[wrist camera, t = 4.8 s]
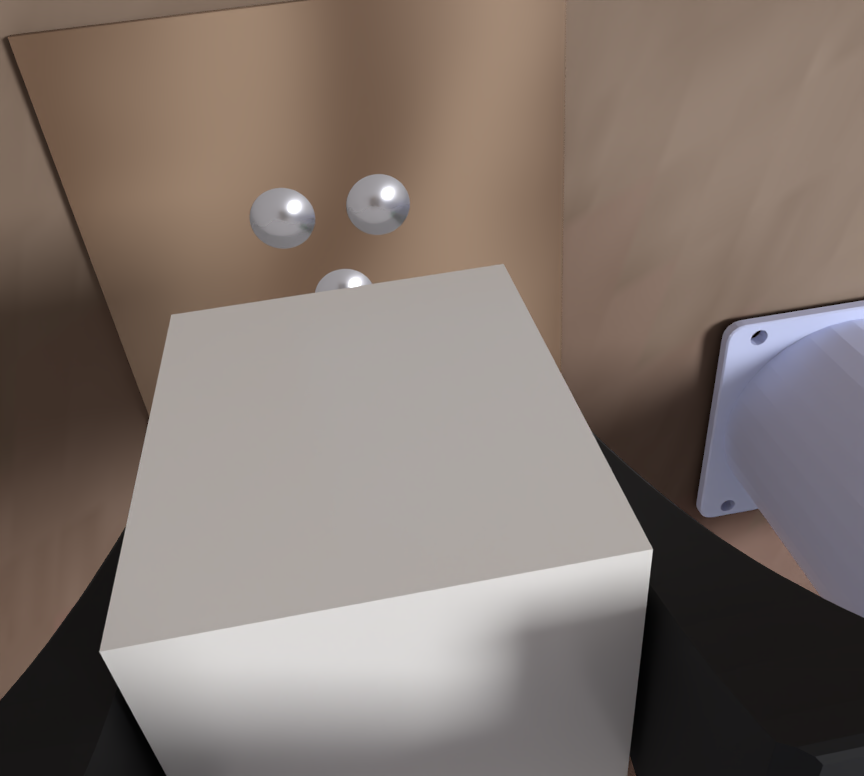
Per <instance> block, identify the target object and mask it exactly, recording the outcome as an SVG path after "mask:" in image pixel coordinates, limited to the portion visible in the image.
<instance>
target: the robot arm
mask: <svg viewBox="0 0 864 776" xmlns="http://www.w3.org/2000/svg"><path fill="white" fill-rule="evenodd" d="M760 330H761V331H760ZM757 331H760V333H759V334H758V335H757V336H756V337H754V338H751V337H752V335H753V334H754V333H755V332H757ZM591 432H592V431H591ZM592 434H593V436H594V437H595V439H596V441H597V443H598V445H599V447H600V449H601V451H602V453H603V455H604V457H605V459H606V460H607V462H608V464H609V466H610V468H611V470H612V472H613V474H614V476H615V478H616V480H617V481H618V483H619V485H620V487H621V489H622V491H623V493H624V495H625V497H626V499H627V501H628V502H629V504H630V506H631V508H632V510H633V512H634V514H635V516H636V518H637V520H638V522H639V523H640V525H641V527H642V529H643V531H644V533H645V535H646V537H647V539H648V541H649V543H650V544H651V546H652V548H653V553H652V562H651V571H650V579H649V588H648V597H647V606H646V615H645V623H644V632H643V641H642V650H641V658H640V667H639V676H638V685H637V694H636V702H635V711H634V720H633V729H632V737H631V746H630V757H631V760H632V763H633V766H634V770H635V773H636V776H864V300H862V301H856V302H850V303H844V304H838V305H831V306H825V307H819V308H813V309H807V310H800V311H794V312H788V313H782V314H776V315H770V316H763V317H757V318H751V319H745V320H739V321H736V322H734V323H732V324H731V325H729V326H728V327H727V329H726V330H725V331H724V333H723V336H722V341H721V347H720V354H719V360H718V367H717V373H716V380H715V386H714V393H713V399H712V406H711V412H710V419H709V425H708V431H707V438H706V444H705V451H704V457H703V464H702V470H701V477H700V483H699V490H698V496H697V502H696V505H697V509H698V510H699V512H700V513H701V514H702V516H704V517H716V516H722V515H727V514H733V513H738V512H744V511H749V510H755V509H759V510H760V511H761V513H762V514H763V516H764V517H765V518H766V520H767V521H768V523H769V524H770V525H771V527H772V528H773V530H774V531H775V533H776V534H777V535H778V537H779V538H780V540H781V541H782V542H783V544H784V545H785V547H786V548H787V549H788V551H789V552H790V554H791V555H792V556H793V558H794V559H795V561H796V562H797V564H798V565H799V566H800V568H801V569H802V571H803V572H804V573H805V575H806V576H807V578H808V579H809V580H810V582H811V583H812V585H813V586H814V587H815V589H816V590H817V592H818V593H819V595H820V596H821V597H820V596H818V595H816V594H814V593H812V592H811V591H809V590H807V589H805V588H803V587H801V586H799V585H798V584H796V583H794V582H792V581H790V580H788V579H786V578H784V577H783V576H781V575H779V574H777V573H775V572H774V571H772V570H770V569H769V568H767V567H765V566H763V565H762V564H760V563H758V562H757V561H755V560H754V559H752V558H750V557H749V556H747V555H746V554H744V553H743V552H741V551H739V550H738V549H736V548H735V547H733V546H732V545H730V544H728V543H727V542H725V541H724V540H722V539H721V538H720V537H718V536H717V535H715V534H714V533H712V532H711V531H710V530H708V529H707V528H705V527H704V526H703V525H701V524H700V523H699V522H697V521H696V520H695V519H693V518H692V517H691V516H689V515H688V514H687V513H685V512H684V511H683V510H681V509H680V508H679V507H677V506H676V505H675V504H674V503H672V502H671V501H670V500H669V499H667V498H666V497H665V496H664V495H662V494H661V493H660V492H659V491H658V490H656V489H655V488H654V487H653V486H652V485H650V484H649V483H648V482H647V481H646V480H645V479H643V478H642V477H641V476H640V475H639V474H637V473H636V472H635V471H634V470H633V469H632V468H631V467H629V466H628V465H627V464H626V463H625V462H624V461H623V460H622V459H621V458H619V457H618V456H617V455H616V454H615V453H614V452H613V451H612V450H611V449H610V448H609V447H607V446H606V445H605V444H604V443H603V442H602V441H601V440H600V439H599V438H598V437H597V436H596V435H595V434H594V433H593V432H592ZM725 501H726V502H725ZM125 529H126V527H125ZM125 529H124V530H123V532H122V533H121V535H120V537H119V538H118V540H117V542H116V543H115V545H114V547H113V548H112V550H111V551H110V553H109V555H108V556H107V558H106V559H105V561H104V562H103V564H102V565H101V567H100V568H99V570H98V572H97V573H96V575H95V576H94V578H93V579H92V581H91V582H90V584H89V585H88V587H87V588H86V590H85V591H84V593H83V594H82V596H81V597H80V599H79V600H78V602H77V603H76V604H75V606H74V607H73V608H72V610H71V611H70V613H69V614H68V615H67V617H66V618H65V620H64V621H63V622H62V624H61V625H60V626H59V628H58V629H57V631H56V632H55V633H54V635H53V636H52V638H51V639H50V640H49V642H48V643H47V644H46V646H45V647H44V648H43V649H42V651H41V652H40V653H39V654H38V656H37V657H36V658H35V660H34V661H33V662H32V663H31V665H30V666H29V667H28V668H27V670H26V671H25V672H24V673H23V674H22V676H21V677H20V678H19V679H18V680H17V682H16V683H15V684H14V685H13V686H12V687H11V689H10V690H9V691H8V692H7V693H6V694H5V696H4V697H3V698H2V699H1V700H0V776H166V774H165V772H164V770H163V768H162V766H161V765H160V763H159V761H158V759H157V757H156V755H155V754H154V752H153V750H152V748H151V746H150V744H149V743H148V741H147V739H146V737H145V735H144V733H143V731H142V730H141V728H140V726H139V724H138V722H137V720H136V719H135V717H134V715H133V713H132V711H131V709H130V707H129V706H128V704H127V702H126V700H125V698H124V696H123V695H122V693H121V691H120V689H119V687H118V685H117V683H116V682H115V680H114V678H113V676H112V674H111V672H110V671H109V669H108V667H107V665H106V663H105V661H104V660H103V658H102V656H101V654H100V652H99V651H100V646H101V642H102V637H103V632H104V628H105V623H106V618H107V614H108V609H109V604H110V600H111V595H112V590H113V585H114V581H115V576H116V571H117V567H118V562H119V557H120V553H121V548H122V543H123V539H124V534H125Z"/></svg>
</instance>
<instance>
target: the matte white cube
mask: <svg viewBox="0 0 864 776" xmlns="http://www.w3.org/2000/svg"><path fill="white" fill-rule="evenodd" d="M652 553H653V548H652V546H651V544H650V543H649V541H648V539H647V537H646V535H645V533H644V531H643V529H642V527H641V525H640V523H639V522H638V520H637V518H636V516H635V514H634V512H633V510H632V508H631V506H630V504H629V502H628V501H627V499H626V497H625V495H624V493H623V491H622V489H621V487H620V485H619V483H618V481H617V480H616V478H615V476H614V474H613V472H612V470H611V468H610V466H609V464H608V462H607V460H606V459H605V457H604V455H603V453H602V451H601V449H600V447H599V445H598V443H597V441H596V439H595V437H594V436H593V434H592V432H591V430H590V428H589V426H588V424H587V422H586V420H585V418H584V416H583V415H582V413H581V411H580V409H579V407H578V405H577V403H576V401H575V399H574V397H573V395H572V394H571V392H570V390H569V388H568V386H567V384H566V382H565V380H564V378H563V376H562V374H561V373H560V371H559V369H558V367H557V365H556V363H555V361H554V359H553V357H552V355H551V353H550V352H549V350H548V348H547V346H546V344H545V342H544V340H543V338H542V336H541V334H540V332H539V331H538V329H537V327H536V325H535V323H534V321H533V319H532V317H531V315H530V313H529V311H528V310H527V308H526V306H525V304H524V302H523V300H522V298H521V296H520V294H519V292H518V290H517V289H516V287H515V285H514V283H513V281H512V279H511V277H510V275H509V273H508V271H507V269H506V267H505V266H504V264H499V265H493V266H486V267H480V268H473V269H467V270H460V271H454V272H447V273H441V274H434V275H428V276H421V277H415V278H408V279H401V280H395V281H388V282H382V283H375V284H369V285H362V286H356V287H349V288H343V289H336V290H330V291H323V292H317V293H310V294H304V295H297V296H290V297H284V298H277V299H271V300H264V301H258V302H251V303H245V304H238V305H232V306H225V307H219V308H212V309H206V310H199V311H193V312H186V313H179V314H173V315H171V318H170V323H169V328H168V333H167V337H166V342H165V347H164V351H163V356H162V361H161V365H160V370H159V375H158V379H157V384H156V389H155V393H154V398H153V403H152V407H151V412H150V417H149V422H148V426H147V431H146V436H145V440H144V445H143V450H142V454H141V459H140V464H139V468H138V473H137V478H136V482H135V487H134V492H133V496H132V501H131V506H130V511H129V515H128V520H127V525H126V529H125V534H124V539H123V543H122V548H121V553H120V557H119V562H118V567H117V571H116V576H115V581H114V585H113V590H112V595H111V600H110V604H109V609H108V614H107V618H106V623H105V628H104V632H103V637H102V642H101V646H100V651H99V652H100V654H101V656H102V658H103V660H104V661H105V663H106V665H107V667H108V669H109V671H110V672H111V674H112V676H113V678H114V680H115V682H116V683H117V685H118V687H119V689H120V691H121V693H122V695H123V696H124V698H125V700H126V702H127V704H128V706H129V707H130V709H131V711H132V713H133V715H134V717H135V719H136V720H137V722H138V724H139V726H140V728H141V730H142V731H143V733H144V735H145V737H146V739H147V741H148V743H149V744H150V746H151V748H152V750H153V752H154V754H155V755H156V757H157V759H158V761H159V763H160V765H161V766H162V768H163V770H164V772H165V774H166V776H627V773H628V764H629V755H630V746H631V737H632V729H633V720H634V711H635V702H636V694H637V685H638V676H639V667H640V658H641V650H642V641H643V632H644V623H645V615H646V606H647V597H648V588H649V579H650V571H651V562H652Z"/></svg>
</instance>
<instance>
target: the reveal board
mask: <svg viewBox="0 0 864 776" xmlns="http://www.w3.org/2000/svg"><path fill="white" fill-rule="evenodd" d="M8 40H9V43H10V45H11V48H12V51H13V53H14V56H15V59H16V61H17V64H18V67H19V69H20V72H21V75H22V77H23V80H24V83H25V86H26V88H27V91H28V94H29V96H30V99H31V102H32V104H33V107H34V110H35V112H36V115H37V118H38V120H39V123H40V126H41V128H42V131H43V134H44V136H45V139H46V142H47V144H48V147H49V150H50V152H51V155H52V158H53V161H54V163H55V166H56V169H57V171H58V174H59V177H60V179H61V182H62V185H63V187H64V190H65V193H66V195H67V198H68V201H69V203H70V206H71V209H72V211H73V214H74V217H75V219H76V222H77V225H78V227H79V230H80V233H81V236H82V238H83V241H84V244H85V246H86V249H87V252H88V254H89V257H90V260H91V262H92V265H93V268H94V270H95V273H96V276H97V278H98V281H99V284H100V286H101V289H102V292H103V294H104V297H105V300H106V303H107V305H108V308H109V311H110V313H111V316H112V319H113V321H114V324H115V327H116V329H117V332H118V335H119V337H120V340H121V343H122V345H123V348H124V351H125V353H126V356H127V359H128V361H129V364H130V367H131V369H132V372H133V375H134V378H135V380H136V383H137V386H138V388H139V391H140V394H141V396H142V399H143V402H144V404H145V407H146V410H147V412H148V415H149V417H150V412H151V407H152V403H153V398H154V393H155V389H156V384H157V379H158V375H159V370H160V365H161V361H162V356H163V351H164V347H165V342H166V337H167V333H168V328H169V323H170V318H171V315H173V314H179V313H186V312H193V311H199V310H206V309H212V308H219V307H225V306H232V305H238V304H245V303H251V302H258V301H264V300H271V299H277V298H284V297H290V296H297V295H304V294H310V293H317V292H323V291H330V290H336V289H343V288H349V287H356V286H362V285H369V284H375V283H382V282H388V281H395V280H401V279H408V278H415V277H421V276H428V275H434V274H441V273H447V272H454V271H460V270H467V269H473V268H480V267H486V266H493V265H499V264H504V266H505V267H506V269H507V271H508V273H509V275H510V277H511V279H512V281H513V283H514V285H515V287H516V289H517V290H518V292H519V294H520V296H521V298H522V300H523V302H524V304H525V306H526V308H527V310H528V311H529V313H530V315H531V317H532V319H533V321H534V323H535V325H536V327H537V329H538V331H539V332H540V334H541V336H542V338H543V340H544V342H545V344H546V346H547V348H548V350H549V352H550V353H551V355H552V357H553V359H554V361H555V363H556V365H557V367H558V369H559V371H560V373H561V345H562V274H563V204H564V133H565V63H566V0H295V1H287V2H279V3H271V4H263V5H254V6H246V7H238V8H230V9H222V10H213V11H205V12H197V13H189V14H181V15H172V16H164V17H156V18H148V19H140V20H131V21H123V22H115V23H107V24H99V25H90V26H82V27H74V28H66V29H57V30H49V31H41V32H33V33H25V34H16V35H10V36H9V37H8Z"/></svg>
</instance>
